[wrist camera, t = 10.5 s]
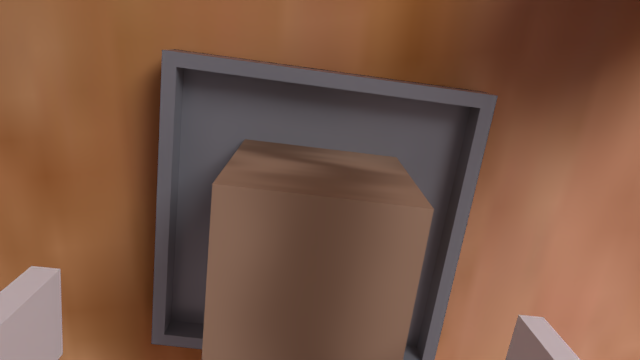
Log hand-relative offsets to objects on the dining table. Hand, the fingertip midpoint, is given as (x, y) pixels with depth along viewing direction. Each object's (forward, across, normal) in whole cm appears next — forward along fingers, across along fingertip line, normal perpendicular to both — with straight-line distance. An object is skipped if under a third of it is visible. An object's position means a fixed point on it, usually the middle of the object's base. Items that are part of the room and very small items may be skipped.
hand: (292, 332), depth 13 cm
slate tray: (+10, +1, 0) cm, 10 cm away
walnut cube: (+9, +1, 0) cm, 9 cm away
